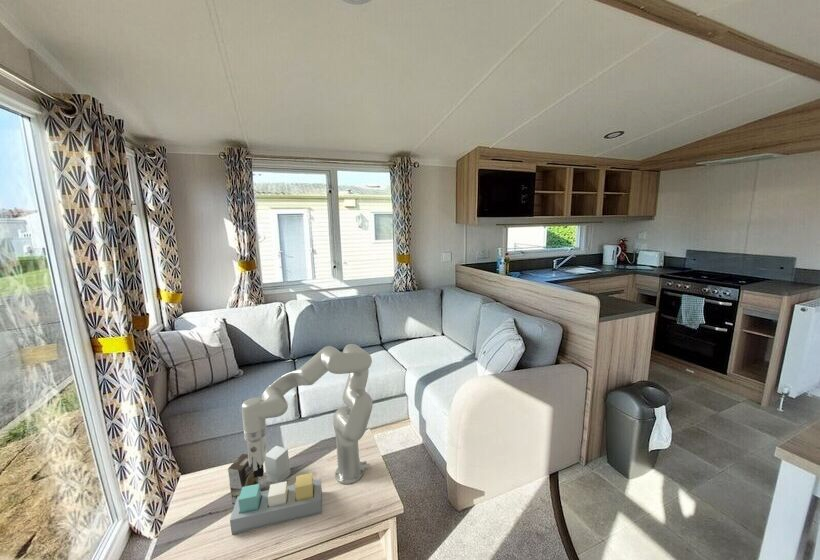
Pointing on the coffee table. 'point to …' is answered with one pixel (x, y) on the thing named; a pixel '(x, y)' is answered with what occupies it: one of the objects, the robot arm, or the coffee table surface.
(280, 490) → the ivory key
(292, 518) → the key console
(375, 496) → the coffee table surface
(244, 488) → the teal key
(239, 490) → the coffee box
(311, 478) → the mustard key
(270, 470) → the supplement box
